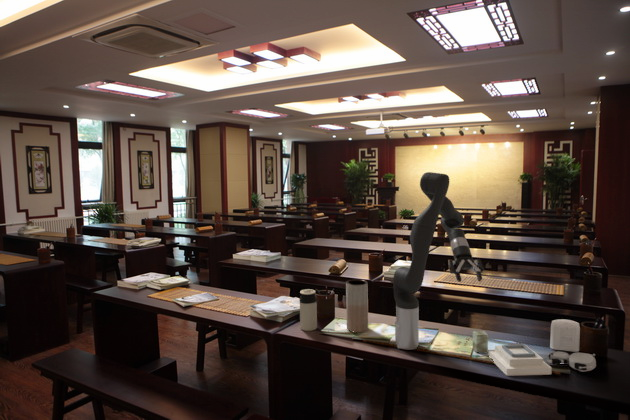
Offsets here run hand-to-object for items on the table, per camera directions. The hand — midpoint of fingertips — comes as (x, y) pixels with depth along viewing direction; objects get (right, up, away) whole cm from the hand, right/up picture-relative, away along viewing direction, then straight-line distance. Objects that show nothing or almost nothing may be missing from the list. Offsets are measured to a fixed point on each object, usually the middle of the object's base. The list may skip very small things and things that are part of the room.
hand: (470, 280), depth 177 cm
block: (+1, -27, -9) cm, 28 cm away
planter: (-46, -26, +18) cm, 56 cm away
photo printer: (+35, -26, -9) cm, 45 cm away
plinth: (+10, -28, -22) cm, 37 cm away
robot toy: (+29, -28, -23) cm, 47 cm away
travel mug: (-69, -26, +21) cm, 77 cm away
